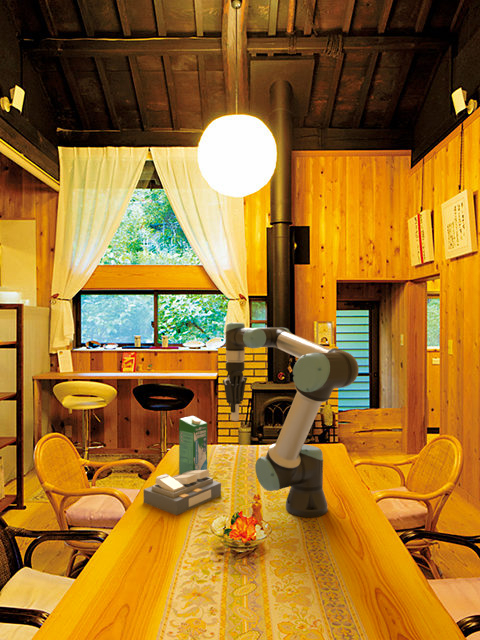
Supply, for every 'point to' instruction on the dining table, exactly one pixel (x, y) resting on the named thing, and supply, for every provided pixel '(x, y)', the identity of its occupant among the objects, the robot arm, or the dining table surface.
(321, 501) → the robot arm
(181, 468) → the milk carton
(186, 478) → the rocker
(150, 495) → the switch unit
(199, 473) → the rocker
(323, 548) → the dining table surface
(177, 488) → the rocker
